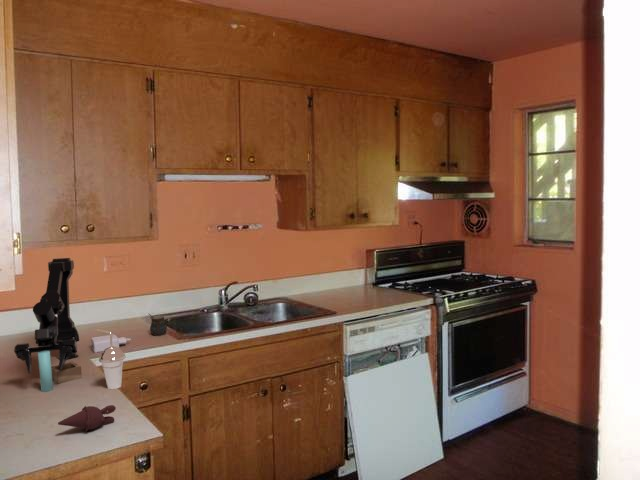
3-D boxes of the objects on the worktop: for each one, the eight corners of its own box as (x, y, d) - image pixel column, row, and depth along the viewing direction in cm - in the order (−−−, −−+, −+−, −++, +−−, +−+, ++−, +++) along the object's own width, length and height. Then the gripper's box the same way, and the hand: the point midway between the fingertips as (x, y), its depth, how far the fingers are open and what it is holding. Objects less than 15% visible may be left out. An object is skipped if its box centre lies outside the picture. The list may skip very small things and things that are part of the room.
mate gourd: (167, 335, 247) (165, 313, 245) (149, 337, 245) (148, 315, 243) (167, 331, 254) (165, 310, 252) (150, 333, 252) (148, 311, 250)
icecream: (60, 420, 147) (119, 410, 156) (56, 404, 153) (113, 396, 162) (59, 442, 149) (117, 431, 158) (55, 426, 155) (111, 416, 163)
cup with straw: (110, 393, 182) (105, 333, 179) (94, 387, 187) (90, 329, 185) (132, 385, 188) (128, 327, 186) (117, 379, 194) (113, 324, 192)
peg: (39, 389, 187) (36, 352, 185) (51, 386, 189) (47, 349, 188) (43, 392, 184) (39, 354, 183) (54, 389, 187) (51, 352, 185)
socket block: (50, 378, 198) (49, 367, 197) (73, 372, 203) (72, 361, 203) (58, 383, 192) (57, 372, 191) (81, 377, 197) (80, 366, 197)
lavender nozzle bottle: (133, 347, 232) (94, 354, 225) (128, 341, 240) (91, 348, 233) (132, 336, 231) (93, 342, 224) (127, 331, 239) (90, 337, 232)
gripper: (12, 321, 185) (7, 363, 176) (73, 315, 190) (71, 356, 181) (20, 337, 194) (15, 379, 184) (78, 332, 199) (76, 372, 189)
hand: (44, 371), depth 185 cm, fingers open, 9 cm apart
